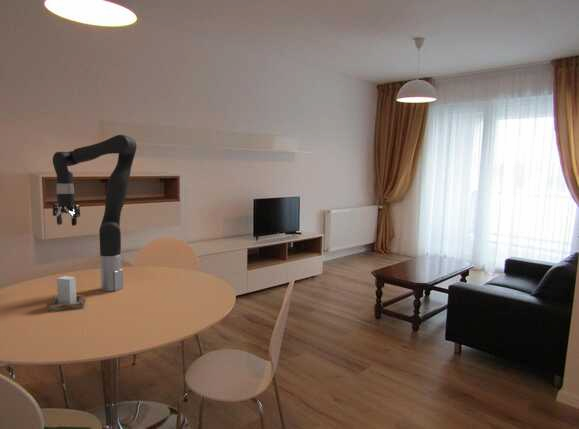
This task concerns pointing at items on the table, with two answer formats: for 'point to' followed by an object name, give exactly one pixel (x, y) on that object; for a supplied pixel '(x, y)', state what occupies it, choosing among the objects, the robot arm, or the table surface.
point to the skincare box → (66, 290)
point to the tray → (68, 306)
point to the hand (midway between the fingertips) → (66, 225)
